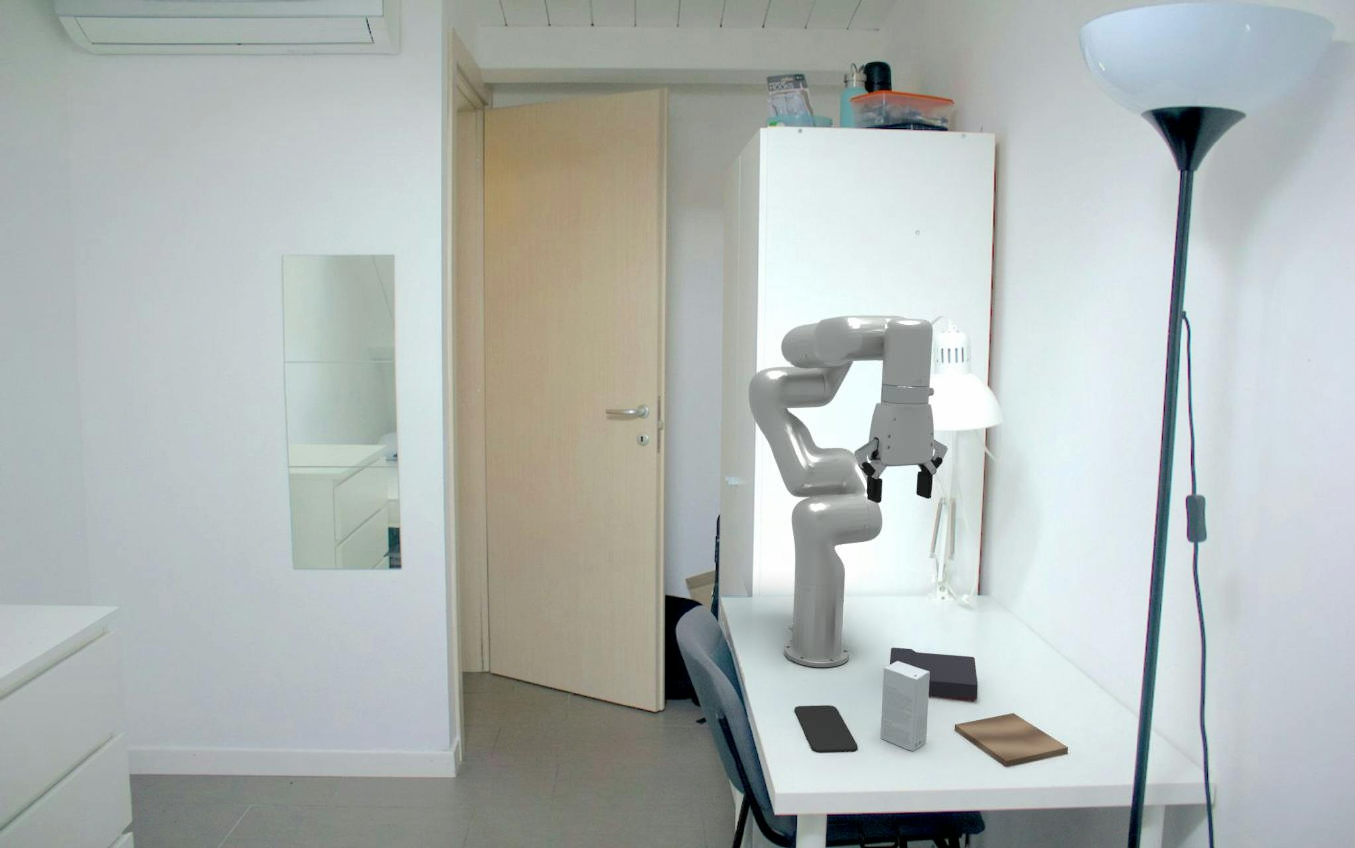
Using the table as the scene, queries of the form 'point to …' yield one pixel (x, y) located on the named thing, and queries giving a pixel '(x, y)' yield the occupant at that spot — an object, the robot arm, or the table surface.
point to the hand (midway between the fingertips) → (899, 498)
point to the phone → (825, 729)
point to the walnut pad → (1010, 739)
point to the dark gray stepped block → (943, 672)
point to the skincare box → (905, 705)
